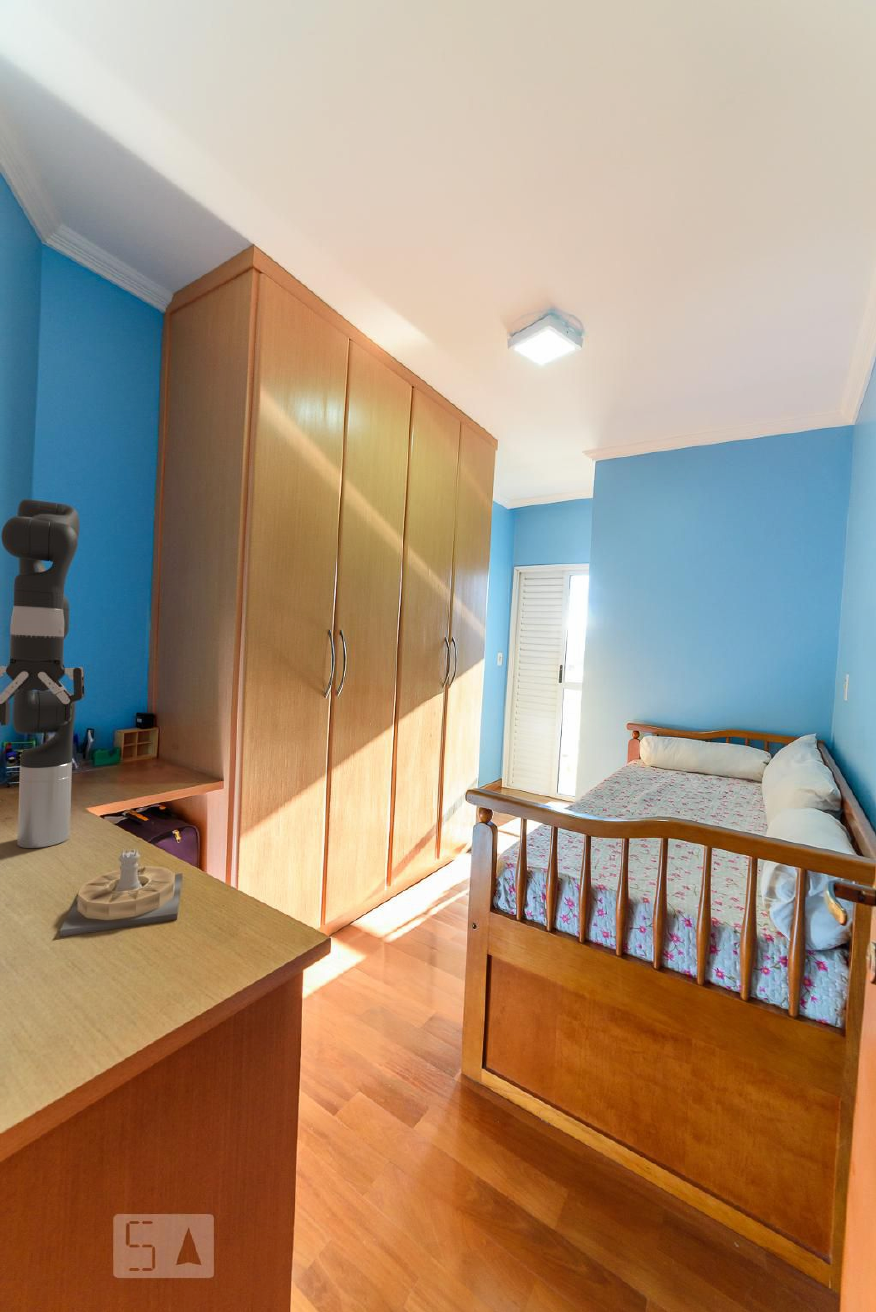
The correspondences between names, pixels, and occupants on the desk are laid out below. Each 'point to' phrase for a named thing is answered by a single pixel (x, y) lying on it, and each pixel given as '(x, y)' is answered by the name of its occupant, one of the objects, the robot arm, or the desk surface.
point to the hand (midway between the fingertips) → (34, 724)
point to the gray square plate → (124, 902)
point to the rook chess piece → (128, 871)
